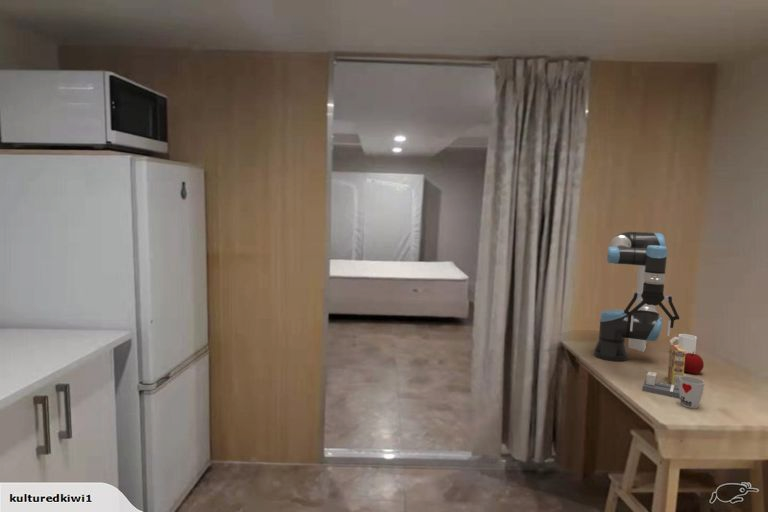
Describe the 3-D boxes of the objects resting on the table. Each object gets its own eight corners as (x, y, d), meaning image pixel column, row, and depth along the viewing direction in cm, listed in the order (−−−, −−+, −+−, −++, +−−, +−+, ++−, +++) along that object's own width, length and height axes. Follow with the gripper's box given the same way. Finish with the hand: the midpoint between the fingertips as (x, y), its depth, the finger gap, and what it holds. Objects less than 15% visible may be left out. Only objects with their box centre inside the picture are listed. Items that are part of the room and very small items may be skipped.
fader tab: (646, 384, 199) (647, 374, 199) (647, 380, 203) (648, 371, 203) (654, 385, 198) (655, 376, 197) (655, 382, 202) (656, 372, 201)
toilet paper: (643, 352, 251) (644, 339, 251) (624, 346, 262) (625, 333, 261) (654, 350, 255) (655, 337, 254) (635, 344, 265) (636, 332, 264)
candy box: (683, 386, 204) (686, 351, 202) (671, 385, 205) (675, 349, 204) (677, 379, 212) (680, 345, 211) (666, 378, 214) (669, 344, 212)
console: (642, 390, 198) (643, 380, 198) (645, 384, 206) (646, 373, 205) (694, 401, 188) (695, 390, 188) (695, 394, 196) (696, 383, 195)
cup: (671, 401, 188) (674, 376, 187) (691, 401, 189) (694, 376, 188) (686, 410, 180) (689, 384, 179) (707, 409, 181) (709, 383, 180)
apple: (704, 372, 223) (706, 351, 222) (700, 377, 216) (702, 355, 215) (681, 367, 229) (683, 346, 228) (676, 372, 222) (678, 350, 221)
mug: (691, 353, 252) (693, 334, 251) (698, 358, 244) (700, 339, 242) (666, 350, 255) (667, 332, 253) (671, 355, 246) (673, 336, 245)
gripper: (620, 281, 204) (616, 330, 206) (690, 287, 193) (685, 339, 195) (620, 278, 211) (616, 326, 213) (688, 284, 200) (683, 335, 202)
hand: (649, 333), depth 204 cm, fingers open, 13 cm apart
